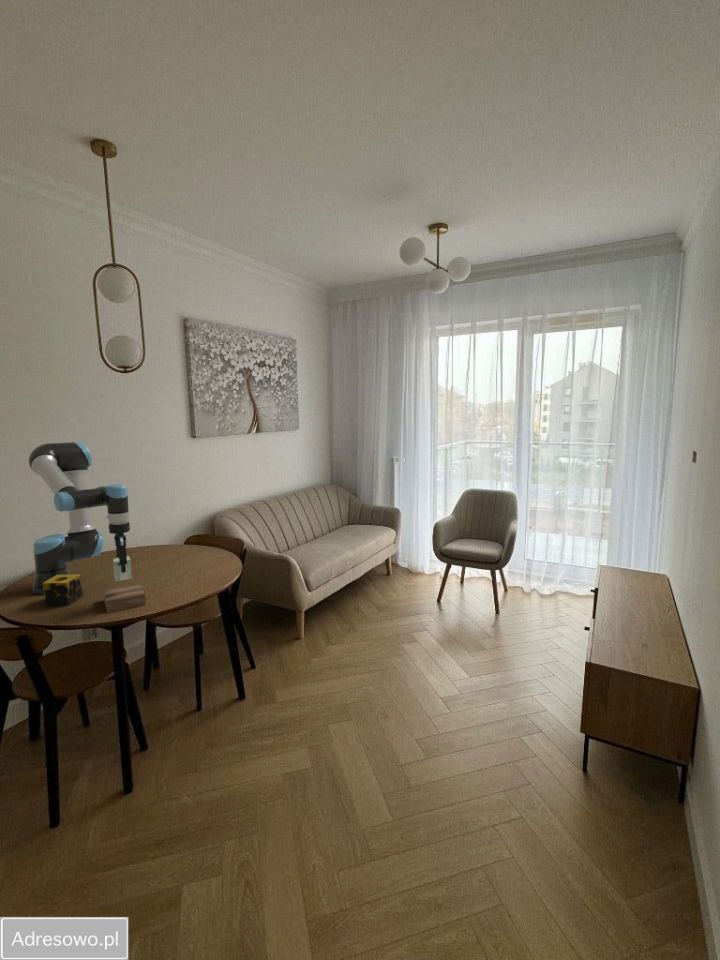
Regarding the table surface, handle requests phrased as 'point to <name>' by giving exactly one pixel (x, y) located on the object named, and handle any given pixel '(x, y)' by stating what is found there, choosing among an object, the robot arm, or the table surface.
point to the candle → (62, 589)
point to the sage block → (116, 568)
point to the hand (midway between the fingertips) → (123, 577)
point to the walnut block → (124, 597)
